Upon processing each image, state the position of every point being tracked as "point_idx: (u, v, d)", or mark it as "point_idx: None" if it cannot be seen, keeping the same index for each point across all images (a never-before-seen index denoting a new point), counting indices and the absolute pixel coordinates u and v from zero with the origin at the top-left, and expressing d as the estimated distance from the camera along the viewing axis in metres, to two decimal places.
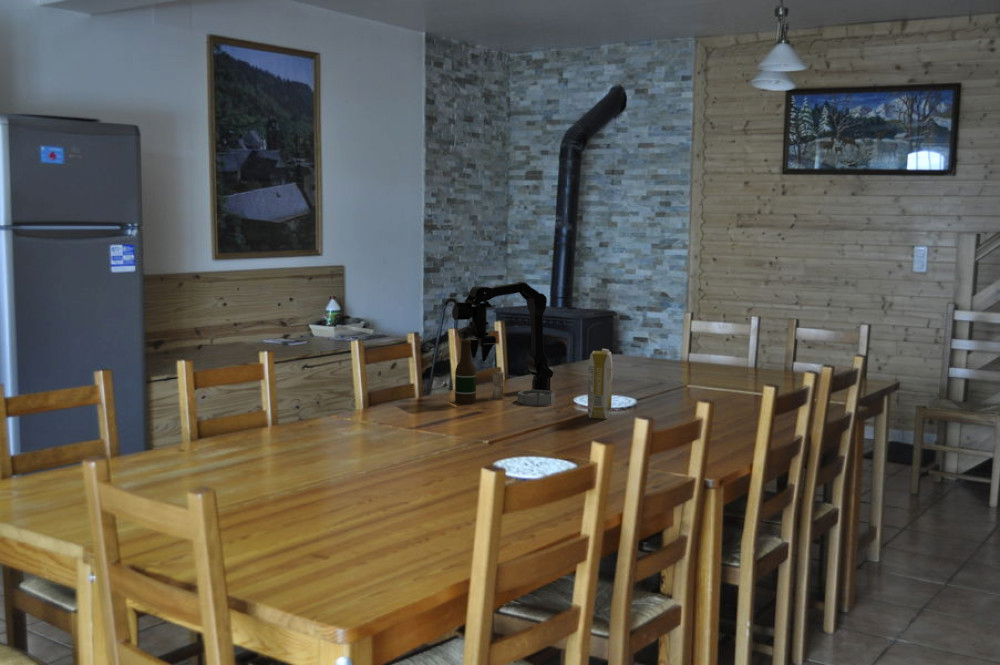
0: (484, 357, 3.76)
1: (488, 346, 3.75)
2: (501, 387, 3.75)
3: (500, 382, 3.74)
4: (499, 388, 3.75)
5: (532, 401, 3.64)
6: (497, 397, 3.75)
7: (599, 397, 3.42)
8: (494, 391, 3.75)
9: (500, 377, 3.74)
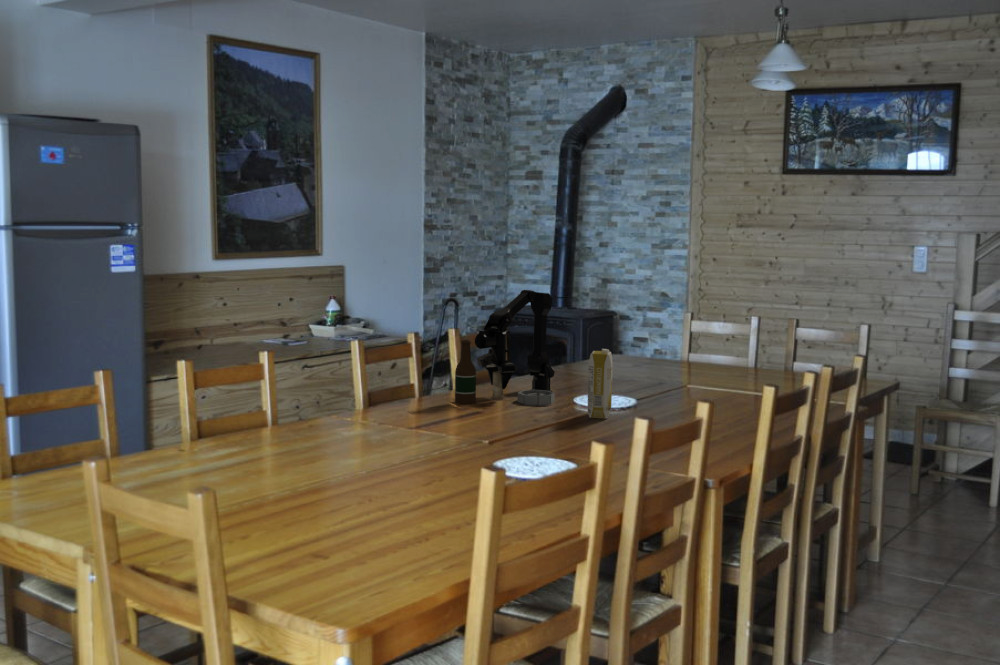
0: (504, 385, 3.71)
1: (508, 374, 3.70)
2: (501, 387, 3.75)
3: (500, 382, 3.74)
4: (499, 388, 3.75)
5: (532, 401, 3.64)
6: (497, 397, 3.75)
7: (599, 397, 3.42)
8: (494, 391, 3.75)
9: (500, 377, 3.74)
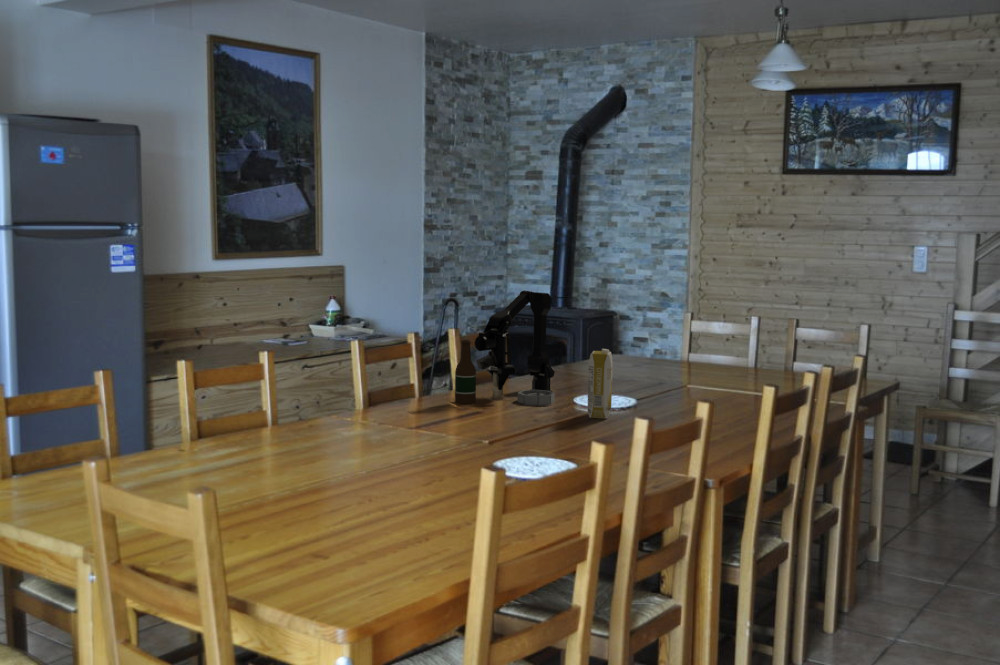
0: (500, 386, 3.74)
1: (504, 375, 3.73)
2: None
3: None
4: None
5: (532, 401, 3.64)
6: (497, 397, 3.75)
7: (599, 397, 3.42)
8: (494, 391, 3.75)
9: None
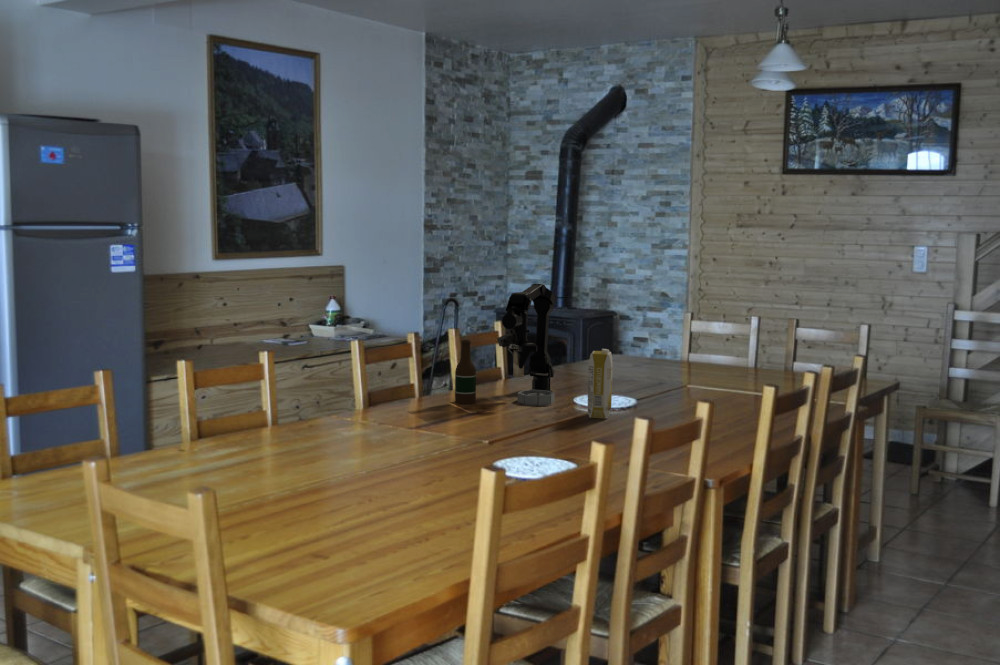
0: (521, 364, 3.69)
1: (525, 353, 3.68)
2: None
3: None
4: None
5: (532, 401, 3.64)
6: (518, 376, 3.70)
7: (599, 397, 3.42)
8: (515, 369, 3.71)
9: None
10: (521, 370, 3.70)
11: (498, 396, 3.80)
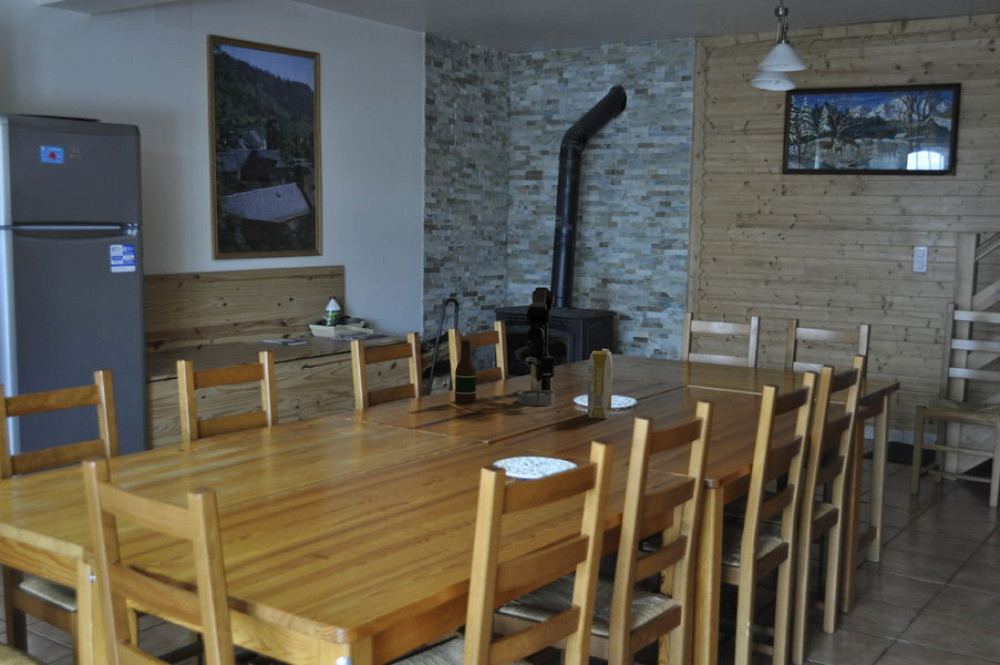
0: (539, 377, 3.67)
1: (543, 366, 3.66)
2: None
3: None
4: None
5: (532, 401, 3.64)
6: (535, 389, 3.68)
7: (599, 397, 3.42)
8: (532, 382, 3.69)
9: None
10: (539, 383, 3.68)
11: (498, 396, 3.80)
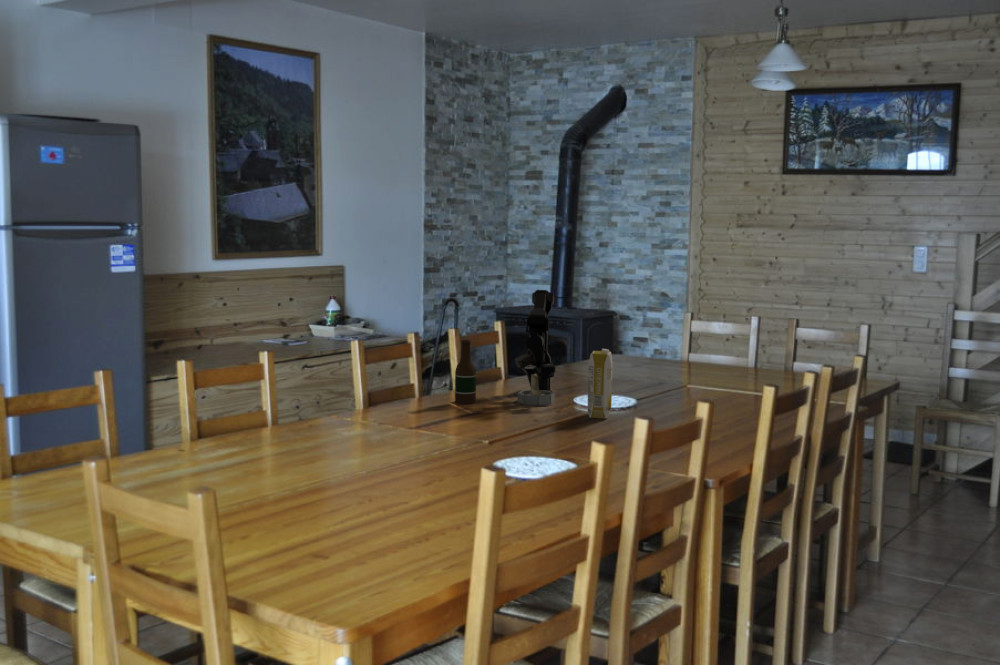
0: (541, 386, 3.66)
1: (545, 375, 3.65)
2: (539, 390, 3.68)
3: (538, 385, 3.67)
4: (537, 391, 3.68)
5: (532, 401, 3.64)
6: None
7: (599, 397, 3.42)
8: (532, 394, 3.69)
9: None
10: (538, 394, 3.68)
11: (498, 396, 3.80)
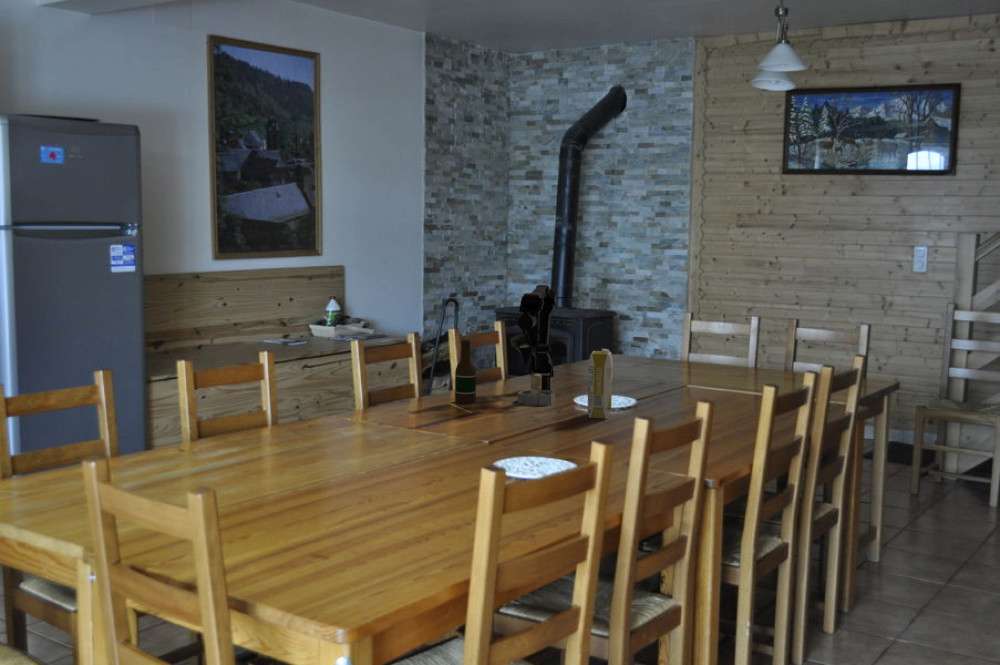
0: (537, 366, 3.70)
1: (542, 354, 3.69)
2: (539, 390, 3.69)
3: (538, 384, 3.68)
4: (537, 391, 3.68)
5: (532, 401, 3.64)
6: None
7: (599, 397, 3.42)
8: (532, 394, 3.69)
9: (538, 380, 3.68)
10: (538, 395, 3.69)
11: (498, 396, 3.80)
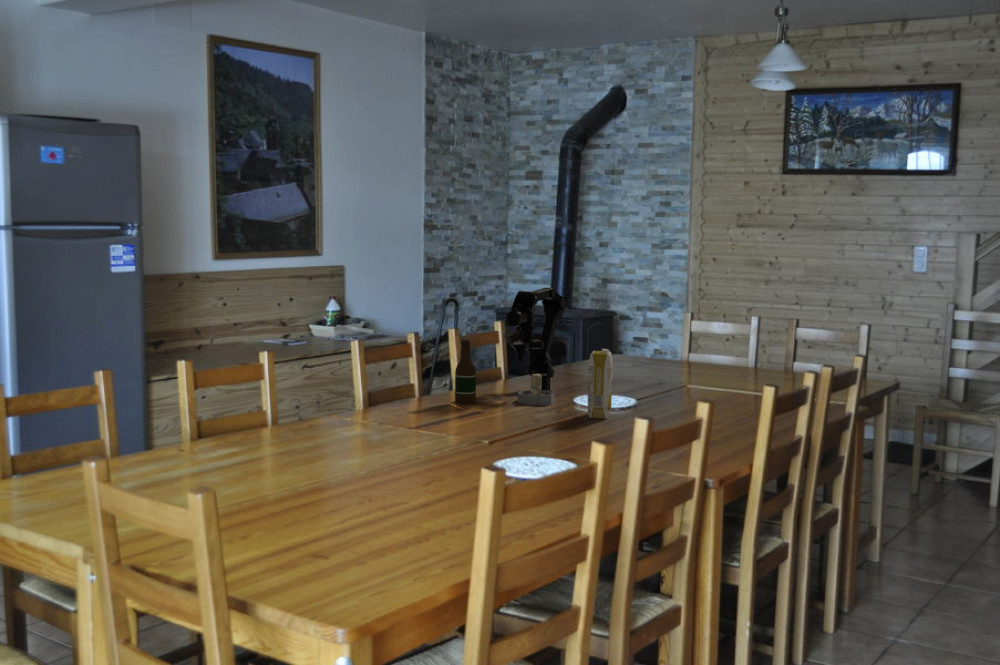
0: (531, 362, 3.76)
1: (535, 351, 3.75)
2: (539, 390, 3.69)
3: (538, 384, 3.68)
4: (537, 391, 3.68)
5: (532, 401, 3.64)
6: None
7: (599, 397, 3.42)
8: (532, 394, 3.69)
9: (538, 380, 3.68)
10: (538, 395, 3.69)
11: (498, 396, 3.80)
